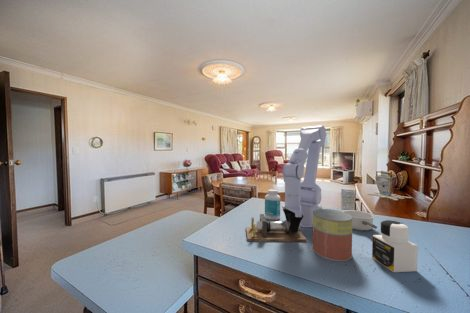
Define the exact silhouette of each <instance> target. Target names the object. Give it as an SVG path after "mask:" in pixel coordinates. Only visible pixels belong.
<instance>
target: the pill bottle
mask: <svg viewBox="0 0 470 313" xmlns="http://www.w3.org/2000/svg"><path fill="white" fill-rule="evenodd" d="M278 192H279V191H278V190H277V189H271V188H270V189H268V190H267V194H266V195H264V216H265V218H266V220H268V221H279V219H280V218H281V196H280V195H279V194H278Z"/></svg>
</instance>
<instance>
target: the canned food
mask: <svg viewBox="0 0 470 313" xmlns="http://www.w3.org/2000/svg"><path fill="white" fill-rule="evenodd" d="M352 219H353V217H352V216H351V215H350V214H348V213H345V212H343V211H341V210H335V209H328V208H322V209H318V210H315V211H313V227H312V251H313V252H314V253H316V255H318V256H320V257H321V258H323V259H325V260H329V261H334V262H348V261H351V259H352V258H353V229H352Z"/></svg>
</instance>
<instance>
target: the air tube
mask: <svg viewBox="0 0 470 313" xmlns="http://www.w3.org/2000/svg"><path fill="white" fill-rule="evenodd" d="M266 221H267V232H286V233H290V232H291V229H290V222H289V221H288V220H286V219H285V220H283V221H282V220H266ZM256 227H257V232H262V221H260V220H257V221H256ZM298 232H301V226H300V225H299V228H298Z"/></svg>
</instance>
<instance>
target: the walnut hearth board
mask: <svg viewBox="0 0 470 313" xmlns="http://www.w3.org/2000/svg"><path fill="white" fill-rule="evenodd" d="M250 227H251V226H246V227H245V232H246V239H247V242H288V243H289V242H292V243H293V242H295V243H296V242H299V243H301V242H302V243H303V242H305V243H307V242H308V240H307V237H306V236H304V234H303V233H302V231H300V232H297V233H292V232H290V233H286V232H267V237H262V232H257V226H255V235H257V237H252V235H253V230H250Z"/></svg>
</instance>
